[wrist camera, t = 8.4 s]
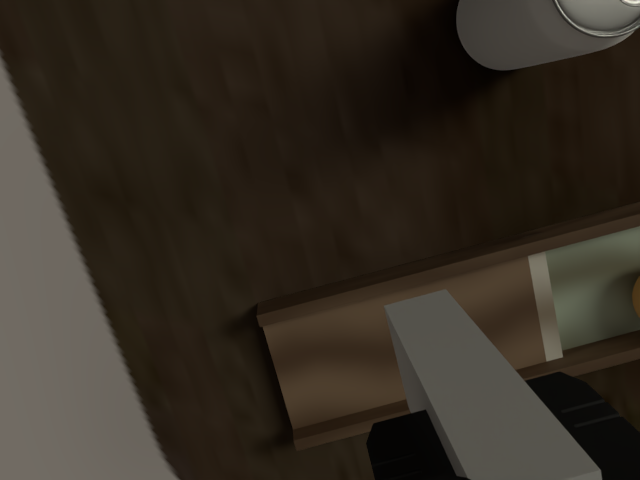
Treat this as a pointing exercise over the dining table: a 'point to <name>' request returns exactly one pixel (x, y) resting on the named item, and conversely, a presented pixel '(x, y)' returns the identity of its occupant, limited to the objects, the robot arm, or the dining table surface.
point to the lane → (481, 306)
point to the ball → (636, 297)
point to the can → (541, 29)
